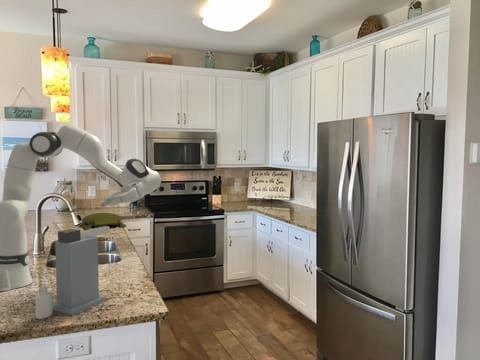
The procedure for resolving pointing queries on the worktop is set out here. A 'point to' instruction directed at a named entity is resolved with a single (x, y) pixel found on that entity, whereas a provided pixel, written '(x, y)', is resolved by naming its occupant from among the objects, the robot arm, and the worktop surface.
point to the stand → (77, 276)
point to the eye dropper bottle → (44, 303)
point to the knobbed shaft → (80, 234)
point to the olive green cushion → (102, 220)
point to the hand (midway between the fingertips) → (105, 205)
